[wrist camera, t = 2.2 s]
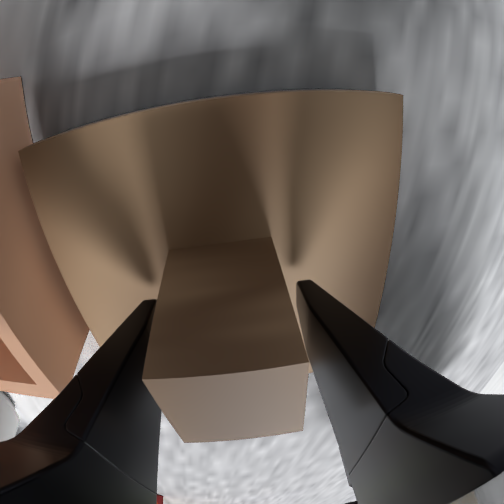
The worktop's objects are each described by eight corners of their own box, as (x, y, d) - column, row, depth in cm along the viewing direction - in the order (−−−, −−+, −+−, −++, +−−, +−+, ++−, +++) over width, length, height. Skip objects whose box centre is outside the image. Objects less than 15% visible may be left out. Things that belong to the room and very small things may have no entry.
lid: (386, 92, 8) (530, 132, 3) (358, 345, 14) (399, 444, 9) (34, 142, 7) (-89, 221, 3) (130, 373, 13) (115, 476, 9)
